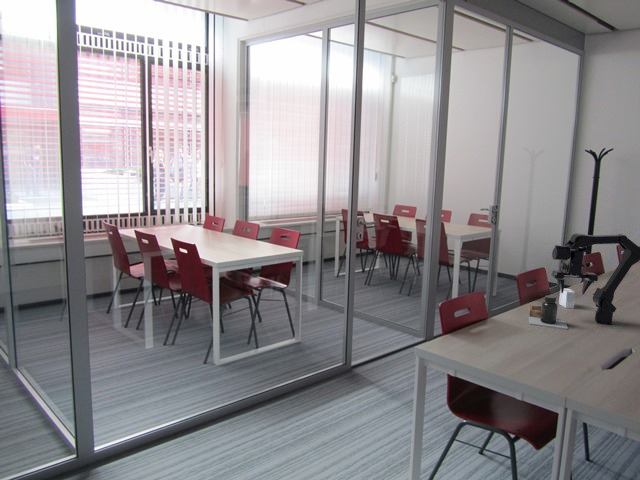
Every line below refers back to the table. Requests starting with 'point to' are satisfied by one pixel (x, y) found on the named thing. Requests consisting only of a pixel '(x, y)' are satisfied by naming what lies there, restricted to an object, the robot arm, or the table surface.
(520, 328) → the table surface
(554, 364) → the table surface
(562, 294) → the medicine box
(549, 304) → the supplement bottle
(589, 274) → the robot arm
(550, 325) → the slate mat
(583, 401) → the table surface
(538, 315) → the tan wooden bay
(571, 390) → the table surface
